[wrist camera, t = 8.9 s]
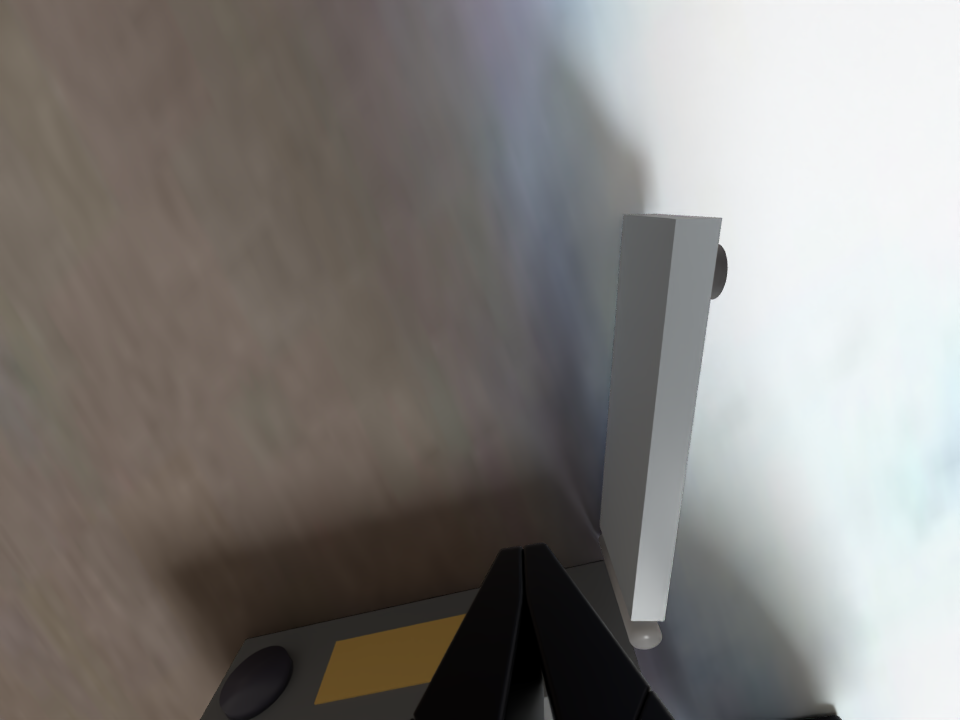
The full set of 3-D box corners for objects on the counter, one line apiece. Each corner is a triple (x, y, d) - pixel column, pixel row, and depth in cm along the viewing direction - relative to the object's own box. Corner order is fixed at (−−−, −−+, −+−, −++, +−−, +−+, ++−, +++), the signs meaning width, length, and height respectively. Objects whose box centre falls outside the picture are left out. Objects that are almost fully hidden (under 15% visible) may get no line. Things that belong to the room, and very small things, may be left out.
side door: (648, 549, 22) (693, 650, 17) (597, 549, 22) (627, 649, 17) (688, 213, 17) (768, 216, 12) (623, 214, 17) (676, 218, 12)
